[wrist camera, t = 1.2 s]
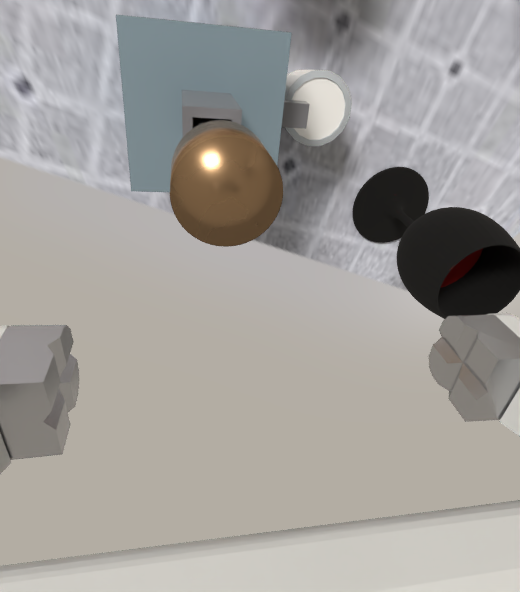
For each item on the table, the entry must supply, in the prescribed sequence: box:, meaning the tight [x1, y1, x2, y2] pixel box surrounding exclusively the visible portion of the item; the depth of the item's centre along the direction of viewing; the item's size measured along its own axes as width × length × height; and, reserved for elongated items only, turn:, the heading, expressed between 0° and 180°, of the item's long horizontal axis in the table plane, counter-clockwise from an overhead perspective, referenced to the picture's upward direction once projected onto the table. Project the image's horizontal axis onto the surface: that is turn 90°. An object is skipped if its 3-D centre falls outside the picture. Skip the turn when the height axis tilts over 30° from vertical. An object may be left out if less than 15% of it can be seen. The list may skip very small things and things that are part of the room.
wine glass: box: [353, 167, 520, 319], centre depth 46 cm, size 10×10×20 cm
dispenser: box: [116, 15, 310, 192], centre depth 35 cm, size 15×12×21 cm
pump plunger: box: [170, 120, 283, 246], centre depth 22 cm, size 5×5×11 cm
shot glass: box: [284, 70, 352, 146], centre depth 42 cm, size 7×7×7 cm
